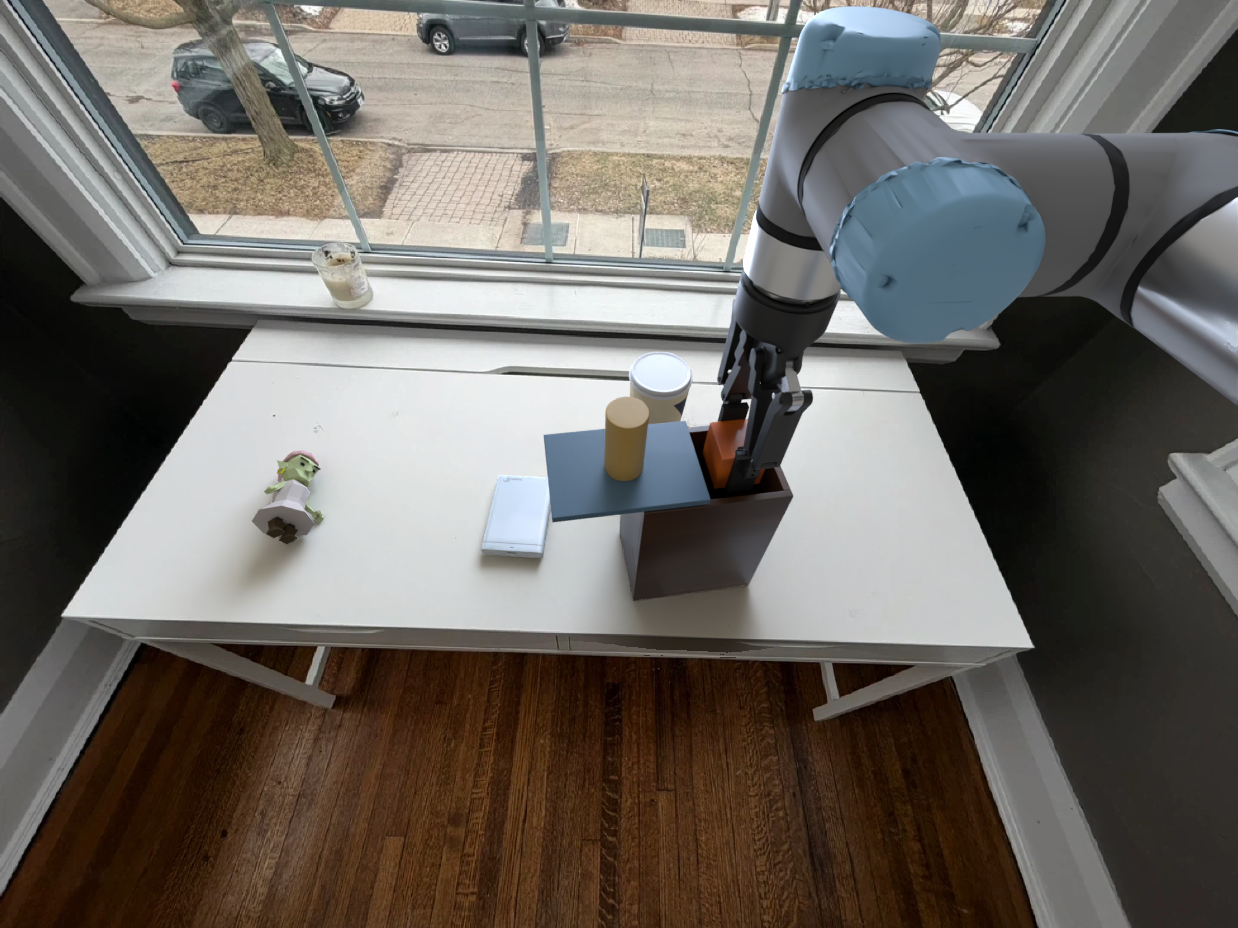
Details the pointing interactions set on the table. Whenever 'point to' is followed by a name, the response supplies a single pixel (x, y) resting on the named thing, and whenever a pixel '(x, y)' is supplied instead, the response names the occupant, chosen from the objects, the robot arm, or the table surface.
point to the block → (724, 449)
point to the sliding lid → (623, 466)
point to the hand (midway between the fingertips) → (731, 466)
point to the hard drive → (518, 517)
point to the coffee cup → (661, 385)
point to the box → (703, 536)
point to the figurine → (290, 500)
